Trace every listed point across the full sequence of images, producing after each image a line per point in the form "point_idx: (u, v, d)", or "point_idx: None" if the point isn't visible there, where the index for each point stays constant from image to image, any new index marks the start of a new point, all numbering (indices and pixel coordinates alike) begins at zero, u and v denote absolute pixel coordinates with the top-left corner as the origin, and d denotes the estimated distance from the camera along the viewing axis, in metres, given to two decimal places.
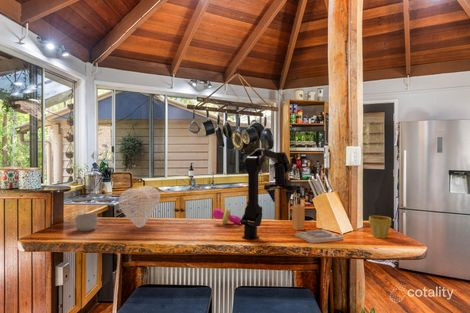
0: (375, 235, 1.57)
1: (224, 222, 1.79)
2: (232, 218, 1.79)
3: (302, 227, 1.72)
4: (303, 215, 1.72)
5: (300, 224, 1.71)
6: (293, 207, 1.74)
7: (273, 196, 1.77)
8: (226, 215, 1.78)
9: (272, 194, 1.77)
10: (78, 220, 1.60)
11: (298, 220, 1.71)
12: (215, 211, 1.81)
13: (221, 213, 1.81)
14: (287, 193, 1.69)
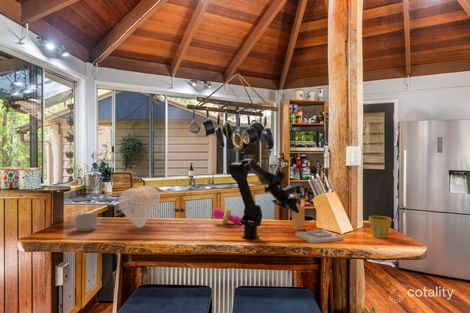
0: (375, 235, 1.57)
1: (224, 222, 1.79)
2: (232, 218, 1.79)
3: (302, 227, 1.72)
4: (303, 215, 1.72)
5: (300, 224, 1.71)
6: None
7: (285, 206, 1.76)
8: (226, 215, 1.78)
9: (283, 205, 1.75)
10: (78, 220, 1.60)
11: (298, 220, 1.71)
12: (215, 211, 1.82)
13: (221, 213, 1.82)
14: (290, 209, 1.64)
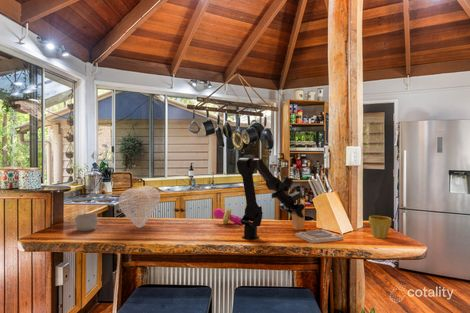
0: (375, 235, 1.57)
1: (224, 222, 1.80)
2: (232, 218, 1.79)
3: (302, 227, 1.72)
4: (303, 215, 1.72)
5: (300, 224, 1.71)
6: None
7: None
8: (226, 215, 1.79)
9: (292, 211, 1.75)
10: (78, 220, 1.60)
11: (298, 220, 1.71)
12: (216, 211, 1.82)
13: (222, 213, 1.82)
14: (295, 214, 1.68)
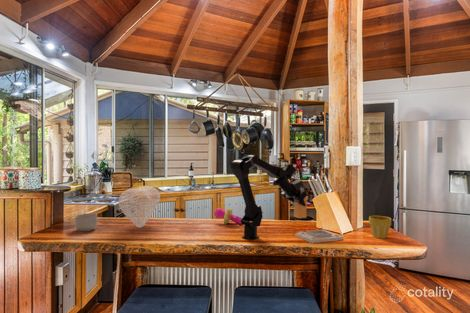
0: (375, 235, 1.57)
1: (225, 222, 1.80)
2: (233, 218, 1.80)
3: (304, 215, 1.70)
4: (305, 203, 1.70)
5: (302, 213, 1.69)
6: None
7: None
8: (227, 215, 1.79)
9: (293, 200, 1.73)
10: (78, 220, 1.60)
11: (300, 208, 1.69)
12: (217, 210, 1.83)
13: (222, 213, 1.83)
14: (297, 202, 1.66)
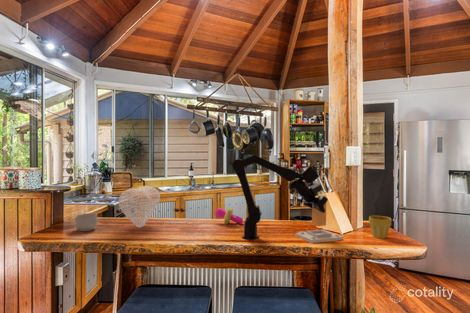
0: (375, 235, 1.57)
1: (225, 221, 1.81)
2: (233, 218, 1.80)
3: (323, 223, 1.53)
4: (325, 209, 1.53)
5: (321, 220, 1.53)
6: None
7: None
8: (227, 215, 1.80)
9: (311, 205, 1.57)
10: (78, 220, 1.60)
11: (319, 215, 1.52)
12: (217, 210, 1.84)
13: (223, 212, 1.83)
14: (316, 208, 1.50)
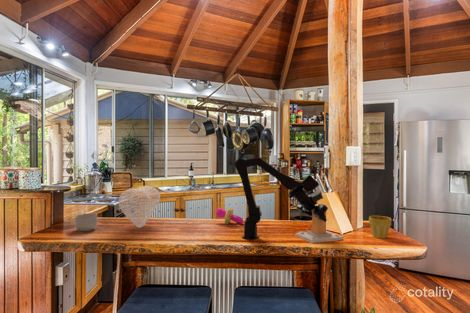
0: (375, 235, 1.57)
1: (226, 221, 1.81)
2: (233, 218, 1.80)
3: (323, 233, 1.53)
4: None
5: (321, 230, 1.53)
6: None
7: None
8: (227, 214, 1.80)
9: (310, 213, 1.58)
10: (78, 220, 1.60)
11: (319, 225, 1.52)
12: (218, 210, 1.84)
13: (223, 212, 1.83)
14: (317, 217, 1.49)
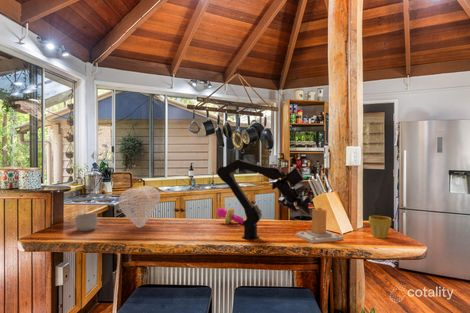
0: (375, 235, 1.57)
1: (226, 221, 1.82)
2: (234, 218, 1.80)
3: (323, 233, 1.53)
4: (325, 220, 1.54)
5: (321, 230, 1.53)
6: (313, 211, 1.56)
7: (292, 207, 1.58)
8: (228, 214, 1.80)
9: (290, 206, 1.57)
10: (78, 220, 1.60)
11: (319, 225, 1.52)
12: (218, 210, 1.85)
13: (224, 212, 1.84)
14: None
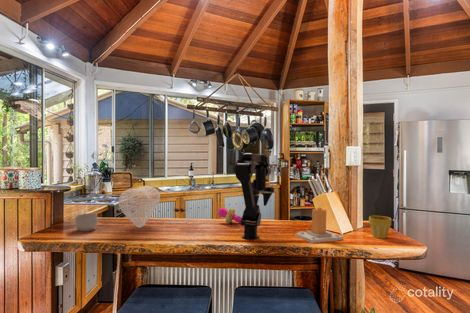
0: (375, 235, 1.57)
1: (227, 221, 1.82)
2: (234, 217, 1.81)
3: (323, 233, 1.53)
4: (325, 220, 1.54)
5: (321, 230, 1.53)
6: (313, 211, 1.56)
7: None
8: (228, 214, 1.81)
9: None
10: (78, 220, 1.60)
11: (319, 225, 1.52)
12: (219, 210, 1.86)
13: (225, 212, 1.85)
14: (270, 195, 1.70)
